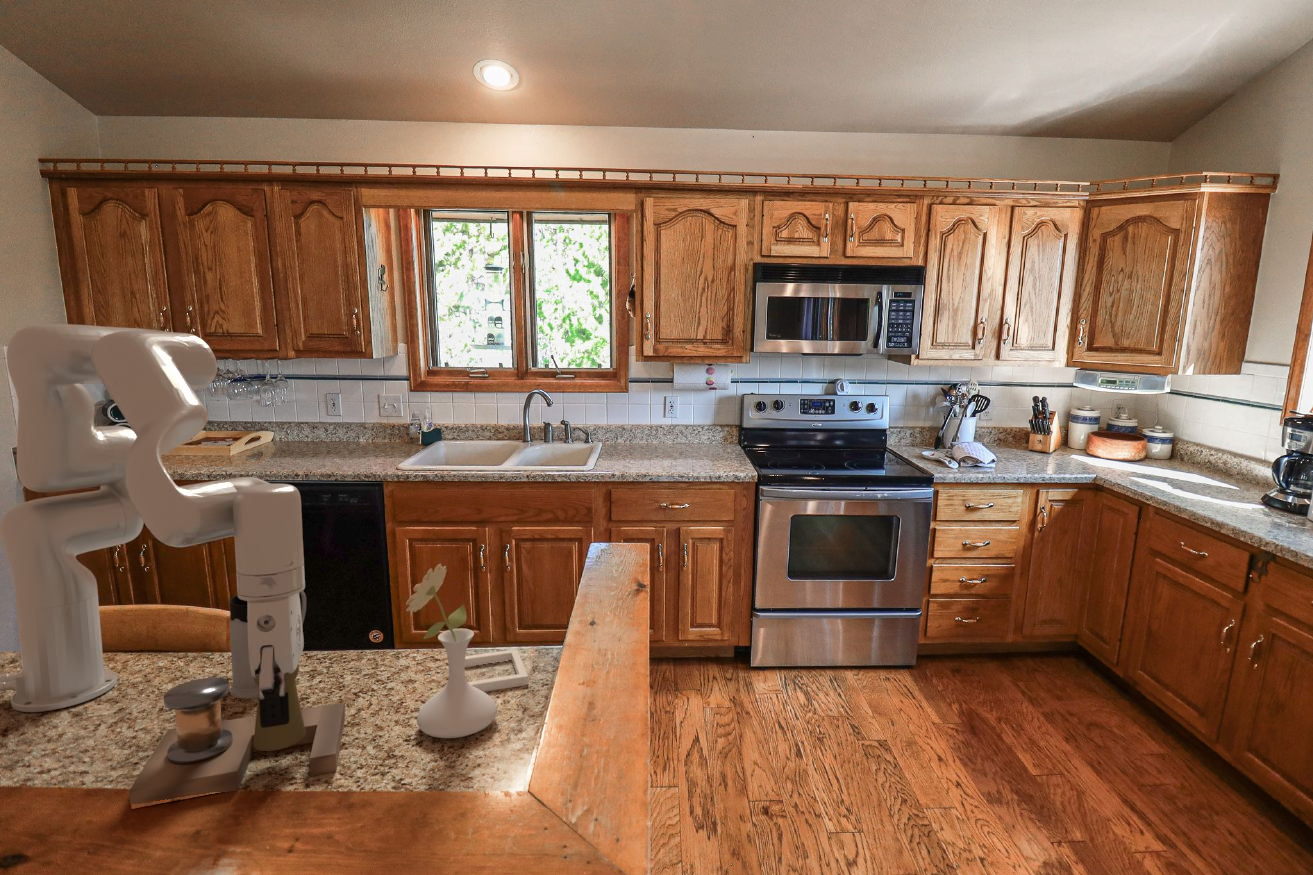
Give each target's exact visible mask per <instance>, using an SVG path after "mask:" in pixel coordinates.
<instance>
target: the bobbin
mask: <svg viewBox="0 0 1313 875" xmlns="http://www.w3.org/2000/svg"><path fill="white" fill-rule="evenodd" d="M230 689H231V687H230V681H229V680H228V679H226V678H223V677H214V676H212V677H203V678H202V677H201V678H198V679H192V680H189V681H186V682H183V683H180V684H179V685H176V686H174V687H173V688H171V689H169V690H167V691H166V692H165V693H164V695H163V706H164V707H165V708H167V709H168V710H169V709H170V710H175V711H174V712H175V725H176V727H175V728H177V741H176V742H174V743H173V744H172V745H171V746H170V747H169V749H168V751H167V754H168V761H169V762H170V763H172V764H176V765H190V764H196V763H200V762H204V761H207V760H210V759H212V758H215V757H217V756H219V755H220V754H222V753H224V752H225V751H226V750H228V749H229V748H230V746H231V745H232V743H233V738H232V733H231V732H230V731H228V730H225V729H222V721H223V720H222V710H221V708H222V707H221V699H223V698H225V697H226V695H228V694H229V693H230Z"/></svg>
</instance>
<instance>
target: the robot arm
mask: <svg viewBox="0 0 1313 875" xmlns="http://www.w3.org/2000/svg"><path fill="white" fill-rule="evenodd" d="M6 364H7V370H8V374H9V377H10V379H11V382H12V384H13V386H14V387H13V388H14V390H15V394H16V398H17V402H18V404H17V405H18V411H17V413H18V414H17V432H16V434H17V435H16V436H17V437H16V438H17V440H16V472H17V477H18V479H19V481H20V483H21V485H22V486H23V487H25V489H28V490H30V491H33V492H38V493H59V492H66V491H67V492H68V491H74V490H82V489H89V488H96V487H100V489H98V490H93V491H84V492H79V493H78V492H77V493H69V494H68V493H67V494H63V495H55V496H48V497H47V496H46V497H41V498H35V499H32V500H28V501H24V502H22V503H19V504H17V505H15V506H13V507H11V508H10V509H9V510H7V512H5V514H4V515H2V518H1V520H0V538H1V539H0V540H1V542H2V545H3V547H4V548H3V549H4V550H5V554H6V556H7V559H8V561H9V562H8V563H9V565H10V570H11V574H12V581H13V588H14V596H15V606H16V615H17V627H18V637H19V648H20V657H21V658H20V659H21V670H19V671H18V672H16V673H15V672H14V673H10V672H9V673H8V672H7V673H0V692H6V691H12V692H15V693H14V694H13V695H12V696H11V699H10V704H11V708H12V709H13V710H16V711H19V712H23V713H41V712H42V713H43V712H48V711H49V712H50V711H54V710H59V709H60V710H61V709H64V708H67V707H73V706H76V705H79V704H82V703H83V704H84V703H85V702H87V701H90V700H93V699H95V698H97V697H99V696H102V695H103V694H105V693H108V691H110V690H111V689H113V687H115V685H116V684H117V682H118V675H117V672H116V671H114V670H112V669H108V668H105V667H104V656H103V655H104V653H103V641H102V631H101V630H102V629H101V616H100V605H99V594H98V593H99V591H98V590H99V589H98V583H97V578H96V577H95V575H94V574H93V572H92V571H91V570H90V569H89V568H87V567H86V566H85V565H83V564H82V563H81V562H79V560H77V555H81V554H85V553H87V552H92V551H96V550H101V549H105V548H111V547H115V546H120V545H123V544H126V543H129V542H131V541H133V540H135V539H136V538H138V536H139V535H140V534H141V532H142V531H143V528H144V525H145V526H146V528H147V529H148V530H149V531H150V533H151V534H152V536H153V537H154V538H156V539H157V540H158V541H160V542H161V543H162V544H164V545H166V546H169V547H174V548H185V547H190V546H197V545H199V544H204V543H207V542H213V541H216V540H221V539H224V538H229V537H233V538H234V539H233V540H234V552H235V554H234V556H235V565H236V566H235V570H236V588H237V595H238V598H239V599H241V600H245V601H248V616H247V619H248V648H249V664H250V672H251V676H253V677H254V678H258V676H259V706H260V724H261V727H262V728H266V727H272V726H278V725H285V724H288V723H289V720H290V715H289V695H288V692H287V693H286V685H285V673H287V672H289V674H291V673H293V672H294V671H295V670H296V668H297V666H298V664H299V662H300V659H301V657H302V653H303V650H304V647H305V646H304V644H305V642H304V632H303V631H304V630H303V624H302V618H301V611H302V605H301V598H300V592H301V591H304V590H305V588H306V580H305V577H306V576H305V575H306V574H305V557H304V556H305V555H304V541H303V540H304V539H303V536H304V535H303V533H304V532H303V518H302V517H303V514H302V499H301V498H302V497H301V493H300V491H299V489H298V488H297V487H296V486H294V485H292V484H288V483H270V482H267V481H265V480H263V479H260V478H258V477H253V476H252V477H251V476H243V477H234V478H227V479H221V480H220V479H219V480H212V481H206V482H199V483H193V484H187V485H182V486H181V485H180V486H178V485H177V484H176V483H175V482H174V479H172V477H171V475H170V473H169V472H168V471H167V469H166V468H165V465H164V463H163V460H162V456H163V455H165V454H167V453H169V452H170V451H172V450H174V449H176V448H178V447H180V446H182V445H184V444H186V443H187V442H189V441H190V440H192V439H194V438H195V437H196V436H197V435H198V434H199V433H201V431H202V430H203V429H205V427H206V425H207V423H208V420H209V419H208V418H209V414H208V411H207V408H206V407H205V405H204V404H203V403H202V402H201V400H200V398H199V397H198V395H197V394H196V393H195V391H196V390H203V389H204V388H207V387H209V386H210V385H211V384H212V383H213V382H214V380H215V378H216V376H217V370H218V363H217V359H216V356H215V354H214V352H213V350H212V349H211V347H210V346H209V344H208V343H206V342H205V341H204V340H203V339H202V338H200V337H198V336H197V335H195V334H192V333H186V332H174V331H173V332H172V331H165V330H164V331H163V330H156V329H147V328H139V327H137V328H135V327H117V326H116V327H115V326H102V325H100V326H99V325H89V324H88V325H86V324H73V323H72V324H71V323H70V324H65V323H47V324H46V323H45V324H44V323H43V324H34V325H33V324H32V325H29V326H25V327H23V328H20V329H19V330H17V331H16V332H15V333H14V334H13V335H12V337H11V338H10V339H9V342H8V345H7V349H6ZM83 384H87V385H89V384H91V385H92V384H95V385H96V384H97V385H98V384H101V385H103V386H104V387H105V389H106V390H107V392H108V394H109V395H110V397H111V398H112V400H113V401H114V403H115V404H116V406H117V408H118V409H119V411H120V412H121V414H122V417H124V419H125V421H126V423H127V424H128V425H129V427H130V428H129V427H126V426H121V425H103V426H102V425H101V426H95V413H96V412H95V408H96V406H95V403H94V399H93V398H92V395H91V394H90V393H89V391H88V390H87V389H86V388H85V386H83ZM194 390H195V391H194ZM275 667H279V668H280V671H275V672H274V668H275ZM275 677H279V683H278V681H274V678H275Z"/></svg>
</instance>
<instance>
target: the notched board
mask: <svg viewBox="0 0 1313 875" xmlns="http://www.w3.org/2000/svg"><path fill="white" fill-rule="evenodd" d="M301 712H302V717H303V721H304V726H305V731H306V734H305V736H304V737H303V738H302V739H301V740H300V741H298V742H297V743H295V744H293V745H291V746H290V747H294V746H300V745H305V744H310V743H312V746H311V747H312V748H311V752H310V756H309V771H310V772H309V773H310V777H315V776H320V775H326V774H332V773H336V772H337V770H338V762H339V757H340V752H341V751H340V750H341V745H342V739H343V732H344V727H345V720H346V715H345V714H346V713H345V712H346V707H345V702H339V703H331V704H326V705H318V706H313V707H305V708H301ZM221 721H222V729H225V730H228V731H230V732H231V733H232V738H233V743H232V745H231V746H230V748H229V749H228V750H226V751H225V752H224V753H222V754H220V755H219V756H217V757H215V758H212V759H210V760H207V761H204V762H200V763H196V764H190V765H176V764H172V763H170V762H169V761H168V754H167V751H168V749H169V747H170V746H171V745H172V744H173V743H174V742H176V741H177V728H176V727H175V728H169V729H167V730H166V732H165V734H164V735H163V737H162V738H161V740H160V741H159V743H158V744H157V746H156V748H155V749H154V750H153V752H152V754H151V756H150V757H149V758H148V760H147V762H146V764H145V765H144V766H143V768H142V769H141V771H140V773H139V775H138V776H137V777H136V779H135V780H134V782H133V784H132V785H131V787H130V788H129V802H130V805H131V804H141V803H150V802H153V801H160V800H165V799H167V800H168V799H174V798H177V797H185V796H190V795H199V794H206V793H210V792H211V793H212V792H225V793H230V792H235V791H239V790H240V787H241V785H242V782H243V780H244V777H245V774H246V772H247V770H248V769H247V768H248V767H249V763H250V760H251V758H252V755H253V753H259V752H263V751H262V750H258V749H256V748H255V747H254V733H255V723H256V715H254V716H253V715H252V716H248V717H241V718H233V719H227V720H221ZM229 791H230V792H229Z"/></svg>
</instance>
